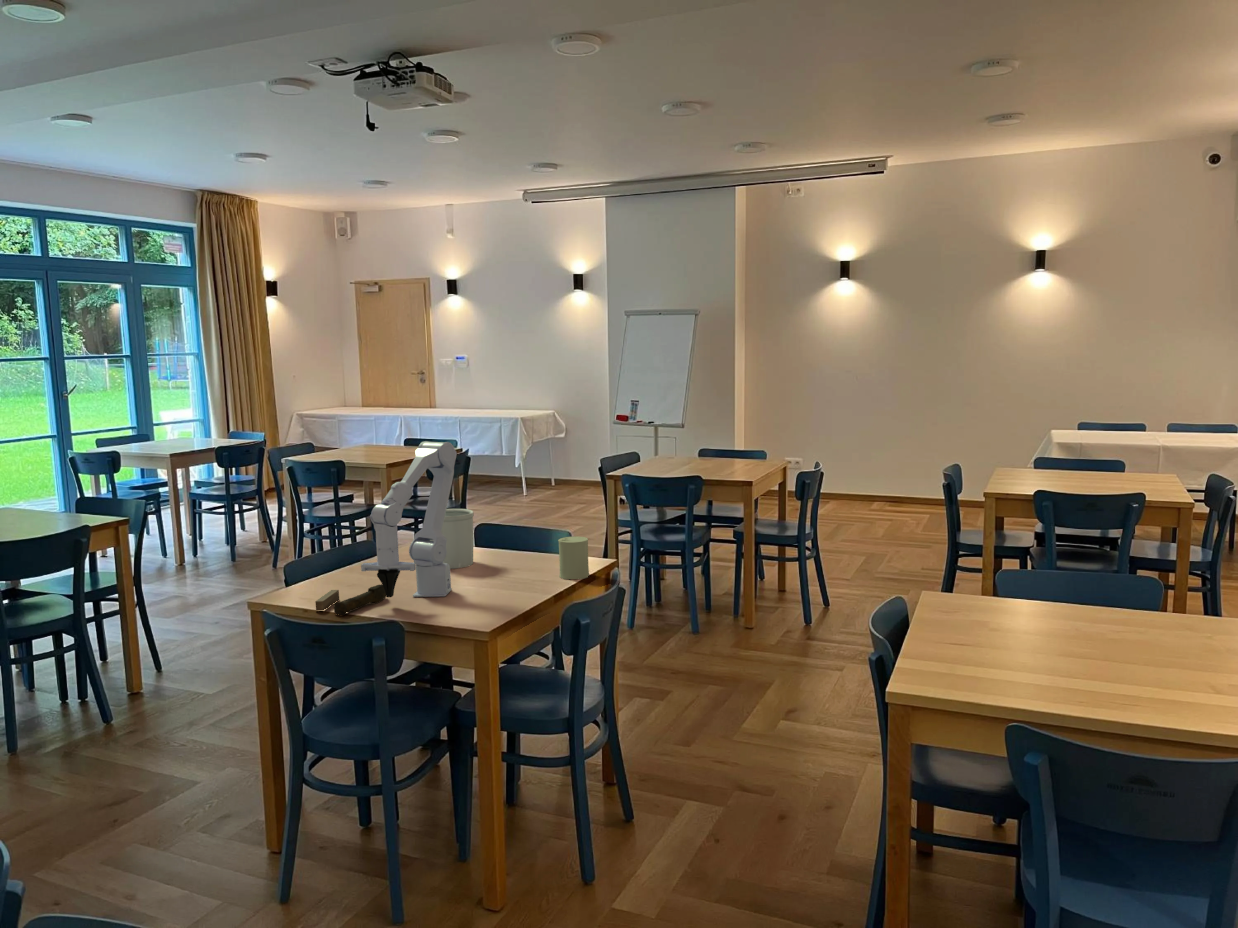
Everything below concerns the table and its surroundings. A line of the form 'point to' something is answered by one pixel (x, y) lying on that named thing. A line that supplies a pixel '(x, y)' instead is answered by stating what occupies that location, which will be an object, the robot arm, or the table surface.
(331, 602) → the block
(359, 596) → the hand tool
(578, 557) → the can
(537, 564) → the table surface
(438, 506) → the robot arm
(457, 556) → the utensil holder
